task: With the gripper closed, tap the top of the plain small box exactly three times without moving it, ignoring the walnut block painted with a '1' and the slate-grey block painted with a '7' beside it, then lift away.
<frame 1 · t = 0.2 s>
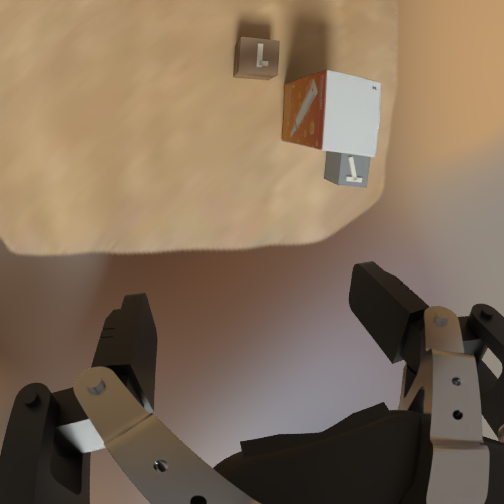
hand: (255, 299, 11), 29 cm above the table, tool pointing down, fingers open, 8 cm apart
slate block seven: (339, 164, 39), on the table
walnut block one: (251, 63, 31), on the table
small box: (303, 114, 36), on the table
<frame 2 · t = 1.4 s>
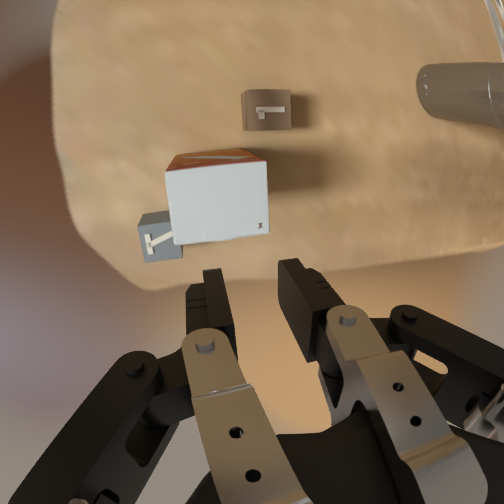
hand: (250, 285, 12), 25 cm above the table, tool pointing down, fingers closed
slate block seven: (163, 228, 36), on the table
walnut block one: (260, 111, 32), on the table
small box: (209, 175, 34), on the table
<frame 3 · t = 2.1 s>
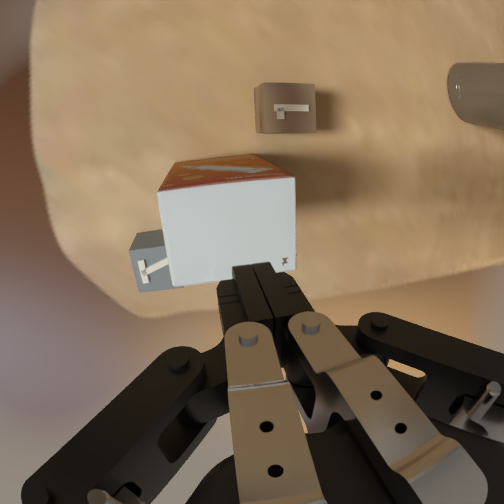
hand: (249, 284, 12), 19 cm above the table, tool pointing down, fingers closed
slate block seven: (161, 249, 30), on the table
walnut block one: (277, 109, 26), on the table
small box: (216, 187, 29), on the table
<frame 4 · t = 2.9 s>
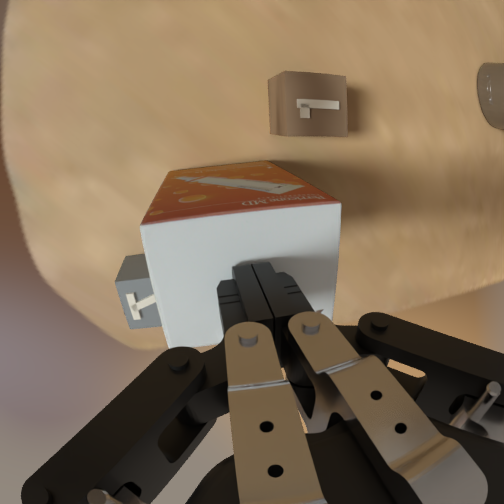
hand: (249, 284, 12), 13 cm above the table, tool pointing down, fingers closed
slate block seven: (154, 275, 25), on the table
walnut block one: (295, 106, 21), on the table
small box: (220, 200, 24), on the table, touching gripper
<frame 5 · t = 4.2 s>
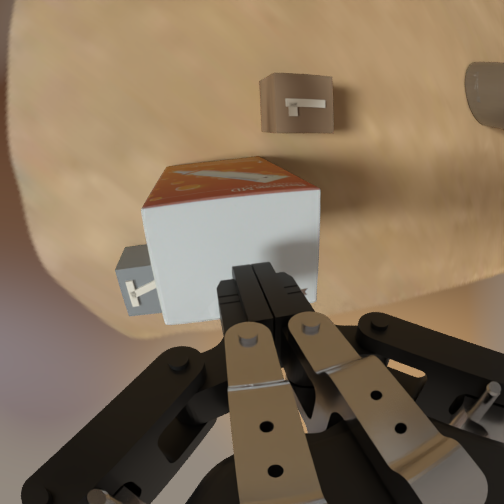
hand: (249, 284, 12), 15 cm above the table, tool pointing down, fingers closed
slate block seven: (152, 265, 26), on the table
walnut block one: (285, 106, 23), on the table
small box: (215, 194, 25), on the table
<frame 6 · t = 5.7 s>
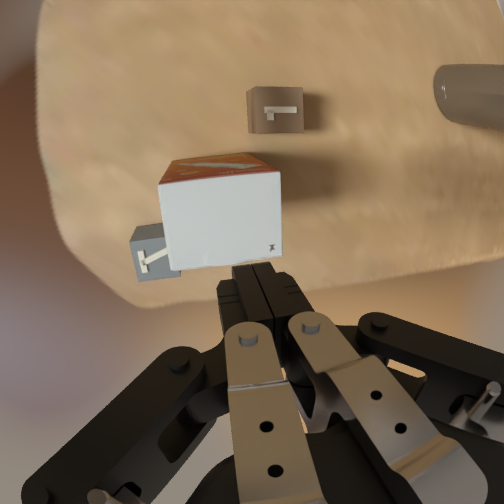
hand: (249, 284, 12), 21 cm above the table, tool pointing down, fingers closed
slate block seven: (159, 242, 32), on the table
walnut block one: (268, 111, 28), on the table
small box: (210, 183, 31), on the table
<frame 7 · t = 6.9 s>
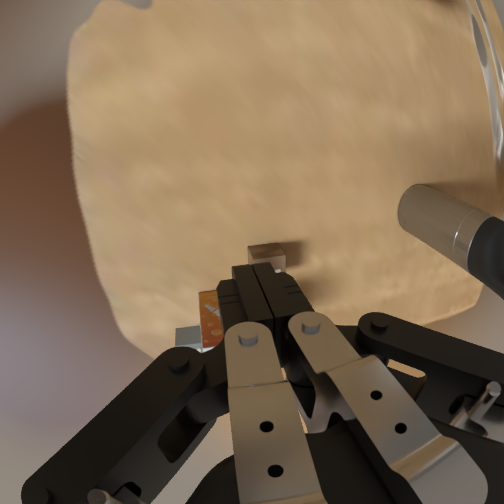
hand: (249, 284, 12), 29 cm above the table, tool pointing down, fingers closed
slate block seven: (190, 336, 48), on the table
walnut block one: (262, 257, 45), on the table
small box: (224, 303, 47), on the table
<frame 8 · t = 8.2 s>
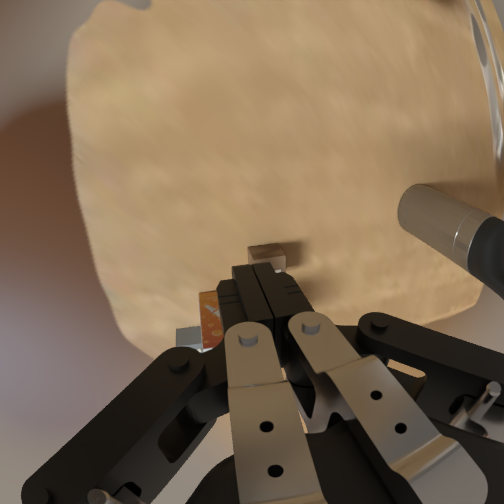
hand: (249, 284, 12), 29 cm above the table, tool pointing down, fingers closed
slate block seven: (191, 336, 48), on the table
walnut block one: (262, 258, 45), on the table
small box: (224, 304, 47), on the table
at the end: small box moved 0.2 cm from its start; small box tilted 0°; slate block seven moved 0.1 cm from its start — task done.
